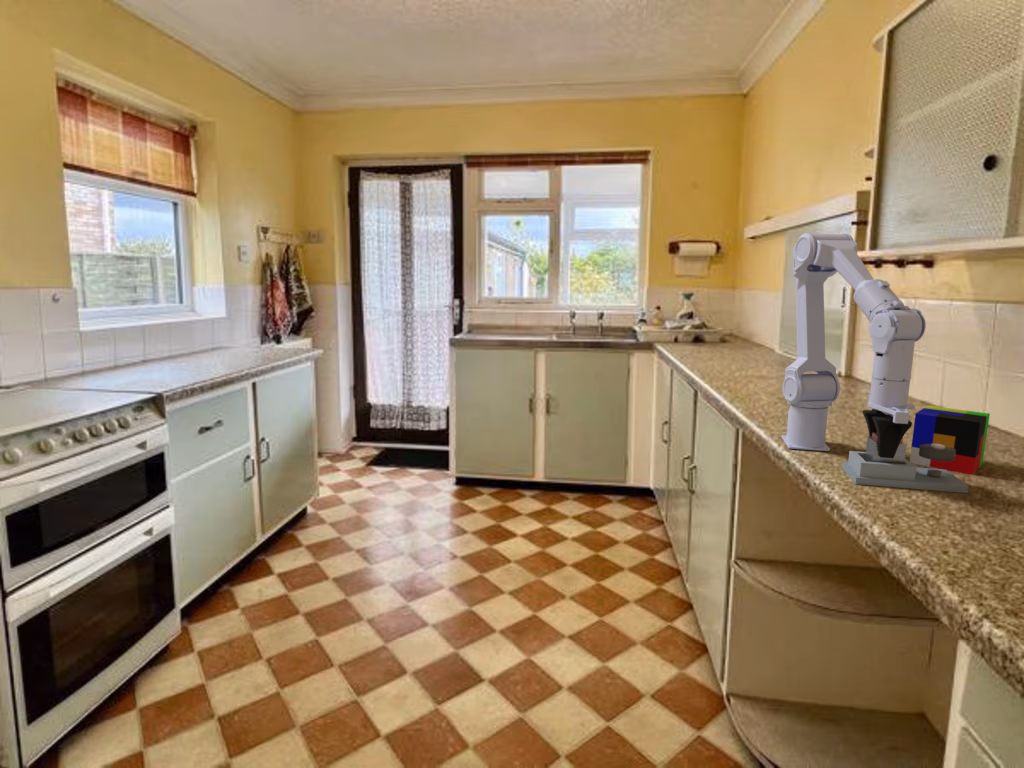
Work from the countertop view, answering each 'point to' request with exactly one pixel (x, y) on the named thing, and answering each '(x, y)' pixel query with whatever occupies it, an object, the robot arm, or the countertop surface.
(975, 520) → the countertop surface
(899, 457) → the red and grey block
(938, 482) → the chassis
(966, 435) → the puzzle toy
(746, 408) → the countertop surface
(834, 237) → the robot arm
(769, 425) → the countertop surface
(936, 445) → the wheel
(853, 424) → the countertop surface
